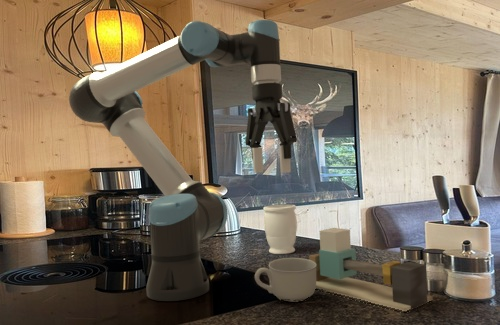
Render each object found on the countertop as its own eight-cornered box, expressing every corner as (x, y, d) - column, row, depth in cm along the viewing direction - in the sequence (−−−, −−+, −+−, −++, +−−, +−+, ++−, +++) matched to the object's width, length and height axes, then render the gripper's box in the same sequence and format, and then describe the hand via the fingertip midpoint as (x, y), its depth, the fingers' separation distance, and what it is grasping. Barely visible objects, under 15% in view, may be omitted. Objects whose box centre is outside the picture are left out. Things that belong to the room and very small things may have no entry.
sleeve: (339, 279, 107) (337, 233, 107) (320, 275, 111) (317, 231, 111) (356, 274, 110) (354, 229, 110) (337, 270, 115) (334, 227, 115)
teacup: (314, 289, 110) (312, 256, 110) (322, 304, 100) (320, 267, 99) (254, 293, 110) (252, 259, 110) (257, 309, 99) (254, 271, 99)
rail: (404, 313, 91) (402, 272, 91) (303, 286, 113) (301, 253, 113) (432, 301, 98) (430, 262, 97) (331, 277, 120) (329, 246, 119)
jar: (298, 247, 158) (295, 203, 158) (298, 254, 148) (295, 207, 148) (266, 249, 159) (264, 204, 159) (264, 255, 149) (262, 208, 149)
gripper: (309, 77, 112) (314, 171, 112) (250, 90, 129) (255, 171, 130) (285, 75, 107) (291, 173, 107) (228, 89, 125) (233, 173, 125)
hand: (271, 172), depth 119 cm, fingers open, 10 cm apart
